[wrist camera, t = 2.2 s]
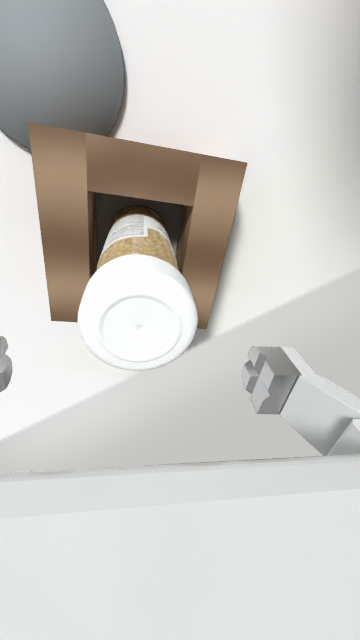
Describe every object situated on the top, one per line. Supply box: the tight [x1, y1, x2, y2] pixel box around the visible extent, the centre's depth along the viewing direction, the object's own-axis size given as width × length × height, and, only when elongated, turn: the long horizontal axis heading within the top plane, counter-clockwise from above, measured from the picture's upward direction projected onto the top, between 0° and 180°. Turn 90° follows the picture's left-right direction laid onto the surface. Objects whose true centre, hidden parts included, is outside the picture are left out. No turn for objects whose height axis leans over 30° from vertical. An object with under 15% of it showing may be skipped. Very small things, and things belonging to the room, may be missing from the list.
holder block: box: [28, 122, 247, 329], centre depth 19 cm, size 12×12×4 cm
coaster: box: [0, 0, 124, 149], centre depth 15 cm, size 9×9×1 cm
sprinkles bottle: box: [78, 206, 198, 371], centre depth 15 cm, size 5×5×14 cm
